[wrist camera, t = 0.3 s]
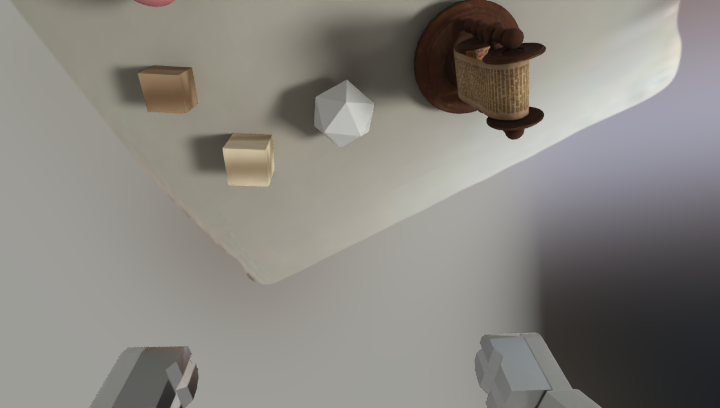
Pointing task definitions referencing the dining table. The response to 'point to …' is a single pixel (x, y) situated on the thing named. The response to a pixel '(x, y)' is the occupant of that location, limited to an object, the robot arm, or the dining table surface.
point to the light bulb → (155, 2)
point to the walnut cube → (168, 89)
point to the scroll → (478, 65)
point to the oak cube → (249, 159)
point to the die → (343, 113)
